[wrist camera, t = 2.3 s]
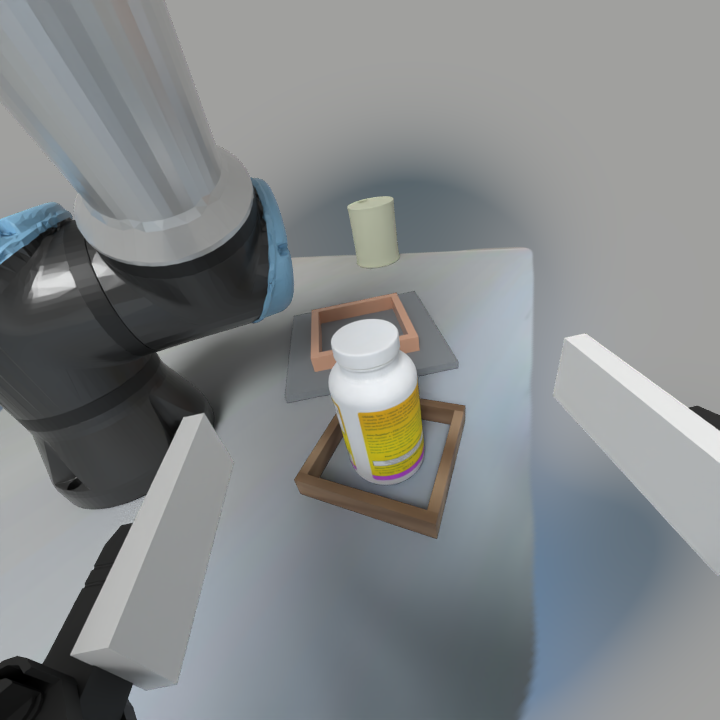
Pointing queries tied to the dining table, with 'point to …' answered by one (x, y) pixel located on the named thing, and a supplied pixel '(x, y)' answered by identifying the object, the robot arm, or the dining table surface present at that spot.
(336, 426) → the collar
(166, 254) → the robot arm
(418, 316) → the mat
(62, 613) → the dining table surface
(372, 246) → the can
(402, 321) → the collar
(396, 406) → the supplement bottle
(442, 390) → the dining table surface
